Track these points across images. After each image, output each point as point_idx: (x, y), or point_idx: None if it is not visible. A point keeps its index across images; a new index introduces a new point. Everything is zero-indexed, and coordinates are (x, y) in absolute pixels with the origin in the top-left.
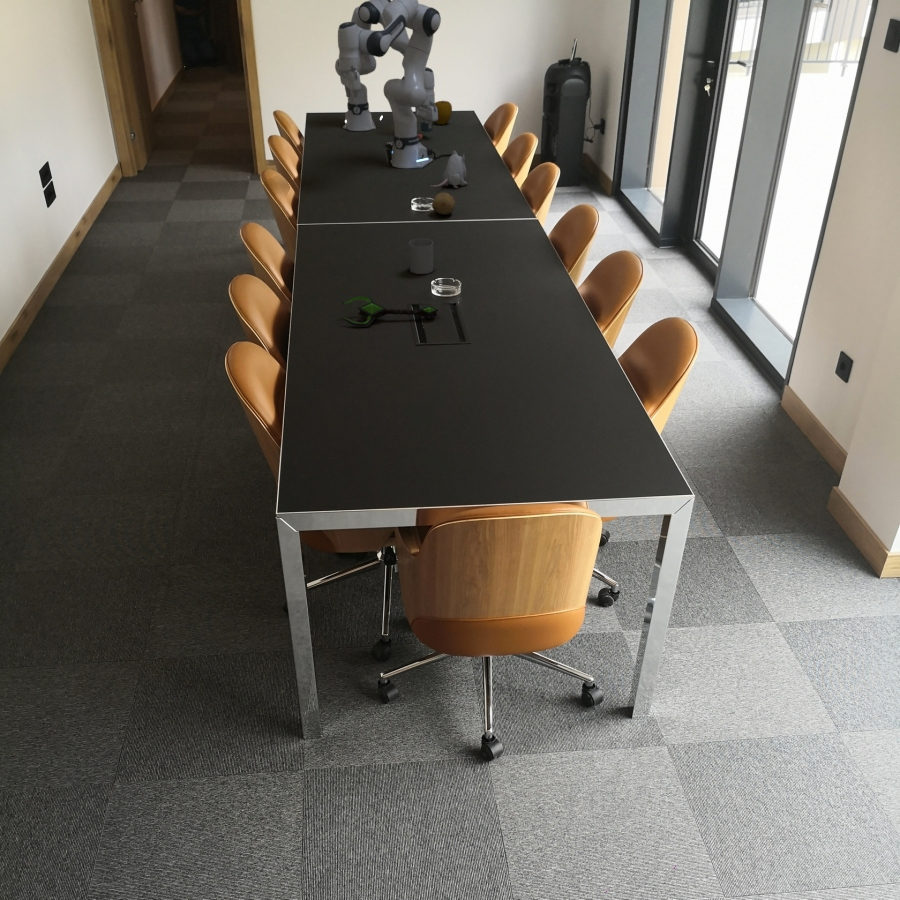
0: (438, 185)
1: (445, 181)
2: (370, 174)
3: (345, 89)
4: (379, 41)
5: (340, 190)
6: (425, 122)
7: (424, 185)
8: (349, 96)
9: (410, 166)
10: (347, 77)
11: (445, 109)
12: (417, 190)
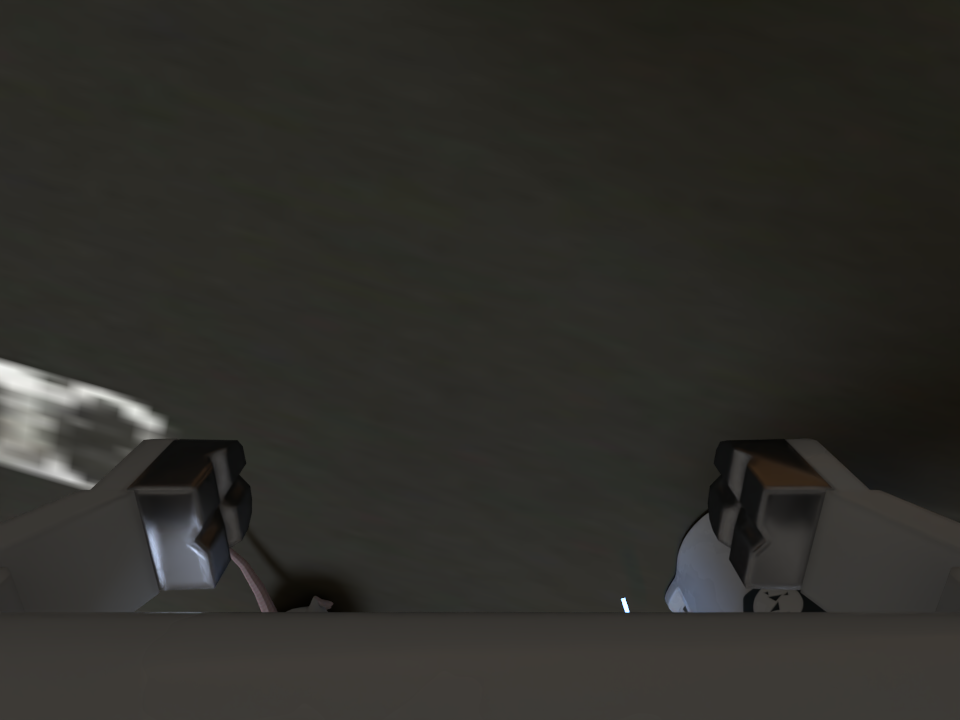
0: (239, 566)
1: (261, 608)
2: (673, 344)
3: (954, 541)
4: None
5: (412, 73)
6: None
7: (366, 523)
8: (717, 495)
9: (682, 560)
10: None
11: None
12: (291, 472)
